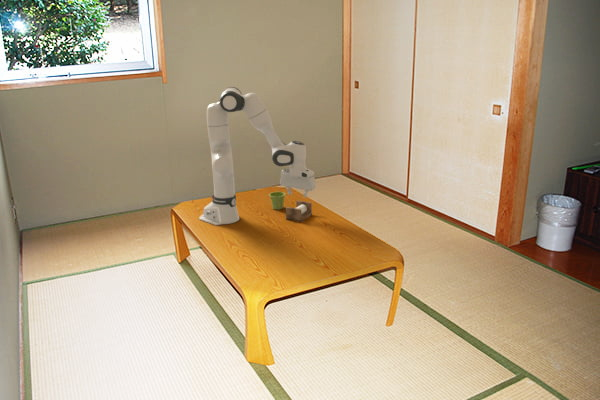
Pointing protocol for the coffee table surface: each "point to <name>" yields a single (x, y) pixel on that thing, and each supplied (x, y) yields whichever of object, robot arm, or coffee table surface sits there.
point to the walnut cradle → (298, 212)
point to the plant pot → (277, 200)
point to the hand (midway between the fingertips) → (297, 195)
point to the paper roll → (302, 208)
